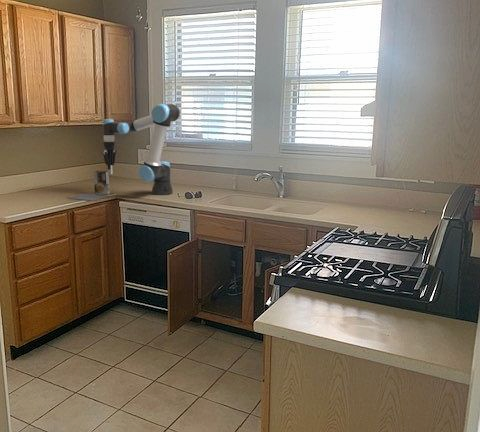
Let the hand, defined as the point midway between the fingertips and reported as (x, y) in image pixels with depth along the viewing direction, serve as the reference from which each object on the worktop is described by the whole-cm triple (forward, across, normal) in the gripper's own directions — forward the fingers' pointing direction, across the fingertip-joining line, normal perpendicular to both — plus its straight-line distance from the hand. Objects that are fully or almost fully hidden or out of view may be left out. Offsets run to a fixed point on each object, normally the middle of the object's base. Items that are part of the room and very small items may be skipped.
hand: (110, 173), depth 344 cm
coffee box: (+13, +10, 0) cm, 17 cm away
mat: (+13, +25, 0) cm, 28 cm away
